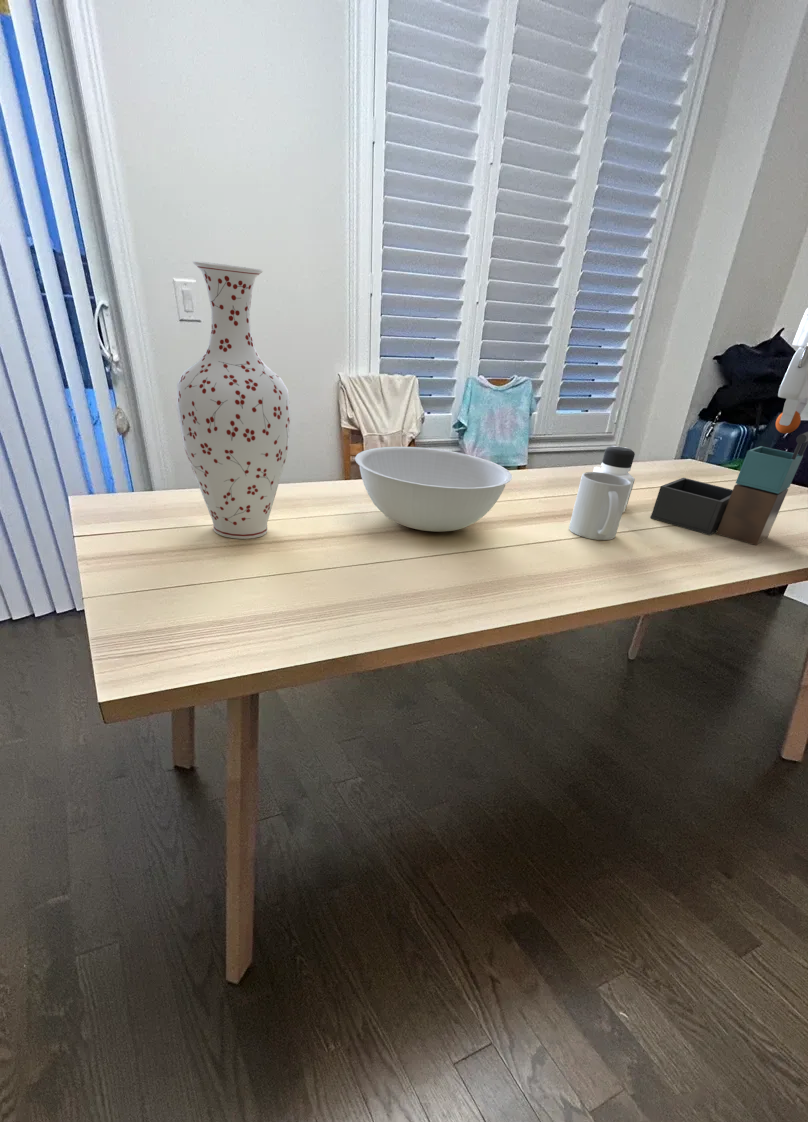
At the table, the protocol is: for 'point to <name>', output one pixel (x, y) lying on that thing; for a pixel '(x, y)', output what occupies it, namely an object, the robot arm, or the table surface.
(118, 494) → the table surface
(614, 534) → the mug
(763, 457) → the box
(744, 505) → the stand
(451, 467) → the bowl
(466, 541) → the table surface
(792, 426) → the ball
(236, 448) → the vase
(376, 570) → the table surface
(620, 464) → the medicine bottle
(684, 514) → the basket
